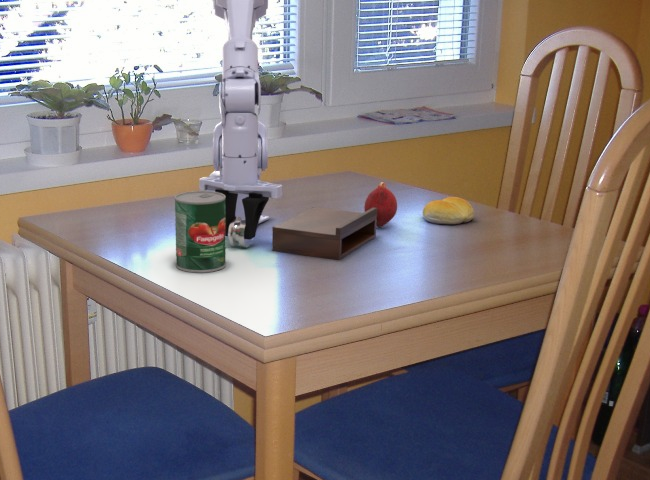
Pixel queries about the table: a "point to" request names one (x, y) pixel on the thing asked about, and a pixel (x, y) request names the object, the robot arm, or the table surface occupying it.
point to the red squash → (382, 204)
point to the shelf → (325, 232)
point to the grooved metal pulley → (238, 232)
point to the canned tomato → (200, 231)
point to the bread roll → (448, 211)
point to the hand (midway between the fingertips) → (240, 236)
